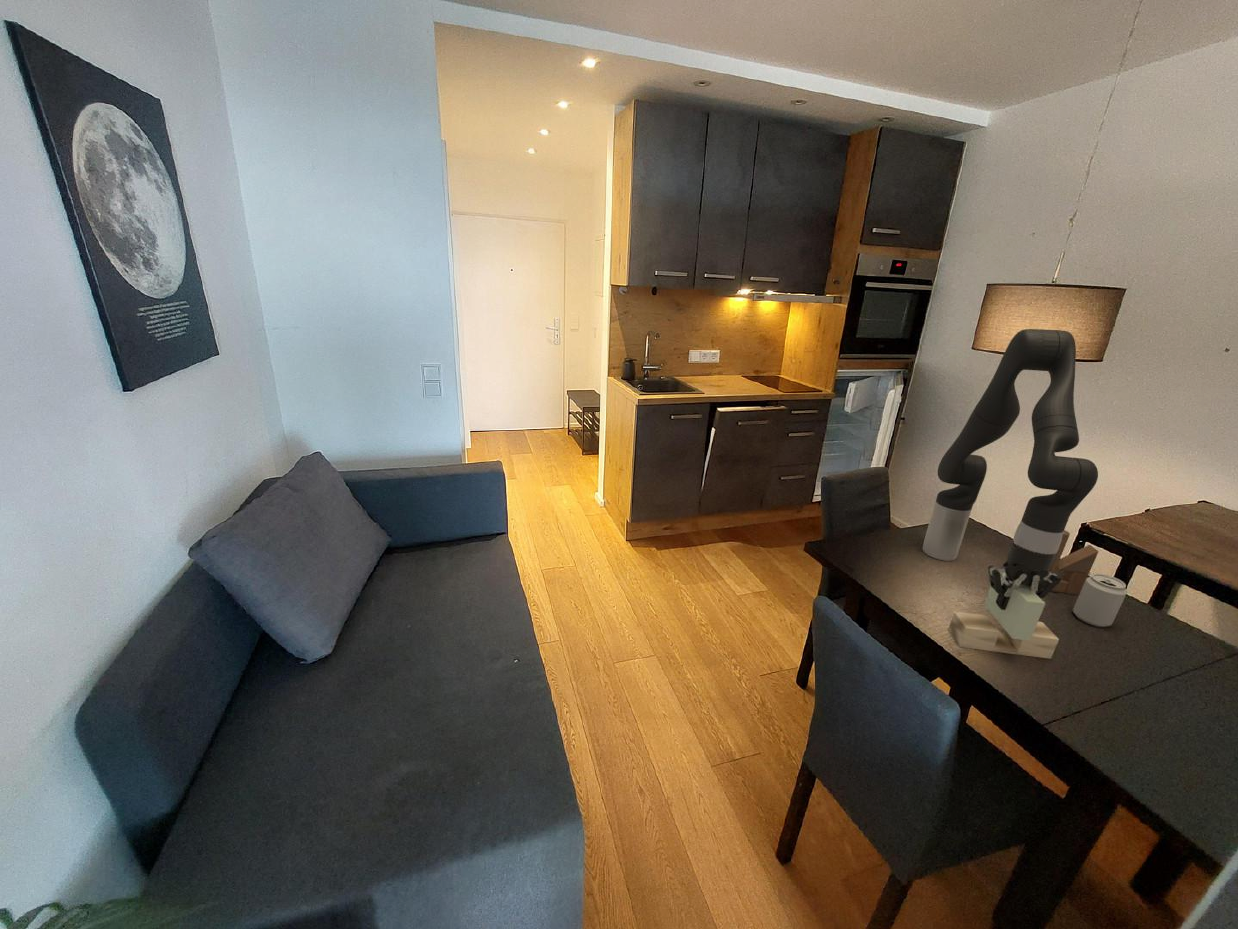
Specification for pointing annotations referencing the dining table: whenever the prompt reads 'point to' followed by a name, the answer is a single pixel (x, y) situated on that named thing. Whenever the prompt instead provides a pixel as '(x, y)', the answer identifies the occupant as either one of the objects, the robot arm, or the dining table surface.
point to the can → (1100, 600)
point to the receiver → (999, 637)
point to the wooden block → (1073, 567)
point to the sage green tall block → (1017, 611)
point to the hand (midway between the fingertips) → (1010, 608)
